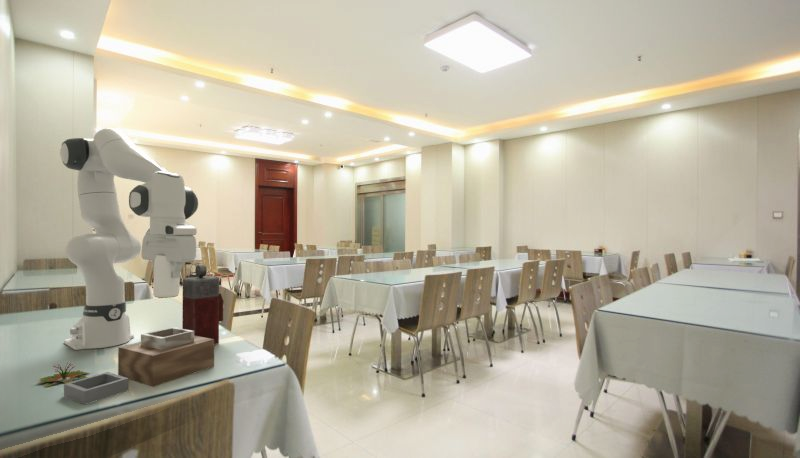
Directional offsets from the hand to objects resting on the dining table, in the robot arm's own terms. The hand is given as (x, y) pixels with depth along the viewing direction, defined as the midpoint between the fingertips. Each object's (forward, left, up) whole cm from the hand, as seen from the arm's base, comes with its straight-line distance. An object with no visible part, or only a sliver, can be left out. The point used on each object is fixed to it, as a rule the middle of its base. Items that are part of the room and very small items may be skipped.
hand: (167, 276), depth 116 cm
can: (0, 0, -6) cm, 6 cm away
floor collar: (0, -18, -27) cm, 32 cm away
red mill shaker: (-17, +24, -27) cm, 40 cm away
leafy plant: (-19, -17, -28) cm, 37 cm away
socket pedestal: (0, 0, -27) cm, 27 cm away
